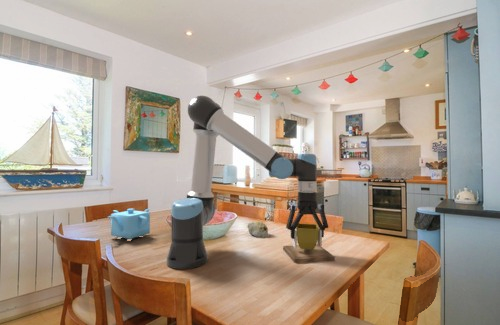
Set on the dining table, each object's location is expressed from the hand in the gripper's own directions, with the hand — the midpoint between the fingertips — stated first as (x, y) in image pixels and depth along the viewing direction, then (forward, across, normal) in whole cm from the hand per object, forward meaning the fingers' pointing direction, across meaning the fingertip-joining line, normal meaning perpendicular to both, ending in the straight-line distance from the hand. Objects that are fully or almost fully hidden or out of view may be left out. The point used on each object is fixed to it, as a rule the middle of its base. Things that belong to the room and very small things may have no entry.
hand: (307, 245), depth 109 cm
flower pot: (+1, 0, 0) cm, 1 cm away
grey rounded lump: (+4, -15, +33) cm, 36 cm away
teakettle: (+4, -80, +39) cm, 89 cm away
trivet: (+4, 0, 0) cm, 4 cm away
